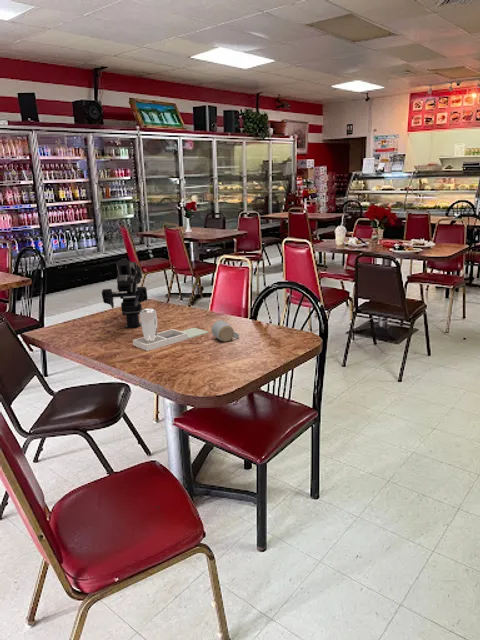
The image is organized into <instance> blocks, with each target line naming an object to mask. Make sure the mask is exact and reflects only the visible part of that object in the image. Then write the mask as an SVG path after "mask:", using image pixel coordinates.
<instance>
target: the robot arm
mask: <svg viewBox="0 0 480 640" xmlns="http://www.w3.org/2000/svg"><path fill="white" fill-rule="evenodd" d="M116 273H117V274H116V275H117V276H116V283H117V288H116V289H117V291H113V290H112V288H105V289H102V290H101V296H102V300H103V303H104V304H107V305H109V306H110V308H111V309H114V307H115V305H114V304H115V303H114V298H120V300H121V299H122V302H120V307H121V312H122V314H121V315H122V316H125V317H126V319H125V320H126V325H125V326H123V327H124V328H126V329H137V328H139V327H141V324H140V310H143V307H142V306H143V305H142V303H144V302H145V301H148V297H149V296H148V289H147V287H146V286H138V285H139V284H140V283H141V282H142V279H143V272H142V268H141V267H140V265H138V264H137V262H136V261H130V260H129V259H127V257H121V259H119V260H117V261H116Z"/></svg>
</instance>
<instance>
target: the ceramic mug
mask: <svg viewBox="0 0 480 640" xmlns="http://www.w3.org/2000/svg"><path fill="white" fill-rule="evenodd" d="M211 334H212V335H213V336H214V337H215V338H216V339H218V340H219V341H221V342H224V343H227V342H230V341H231V340H232V339H239V336H240V334H239V333H237V332H235V331H234V327H232V326H231V325H230V324H228V323H227V322H226V321H225V320H222V319H221V320H217V321H215V322H214V323H213V324H212V327H211Z"/></svg>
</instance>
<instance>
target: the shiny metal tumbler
mask: <svg viewBox="0 0 480 640" xmlns="http://www.w3.org/2000/svg"><path fill="white" fill-rule="evenodd" d="M157 315H158V314H157V310H156V308H142V310H140V314H139V323H140V324H141V326H140V327H141V331H142V335H143V337H144V343H145V344H150V343H154V342H157V341H158V340H157V333H158V316H157Z"/></svg>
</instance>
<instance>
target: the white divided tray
mask: <svg viewBox="0 0 480 640" xmlns="http://www.w3.org/2000/svg"><path fill="white" fill-rule="evenodd" d="M209 333H210V332H209V330H208V331H207V330H204V329H200V328H197V327H191V328H188V329H184V330H181V331H180V330H177V329H174V328H171V329H168V330H164V331H160V332H157V340H158V341H157V342H154V343H150V344H145V343H144V336H143V337H139V338H135V339H133V340H132V344H133V345H134V347H135V346H136V348H138V349H140V348H141V350H143V351H145V350H146V351H145V352H149V350H150V351H154V350H155V349H159V348H162V347H165V346H169V345H173V344H175V343H180V342H182V341H186V340H188V339H193V338H196V337H199V336H204V335H205V334H209Z"/></svg>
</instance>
